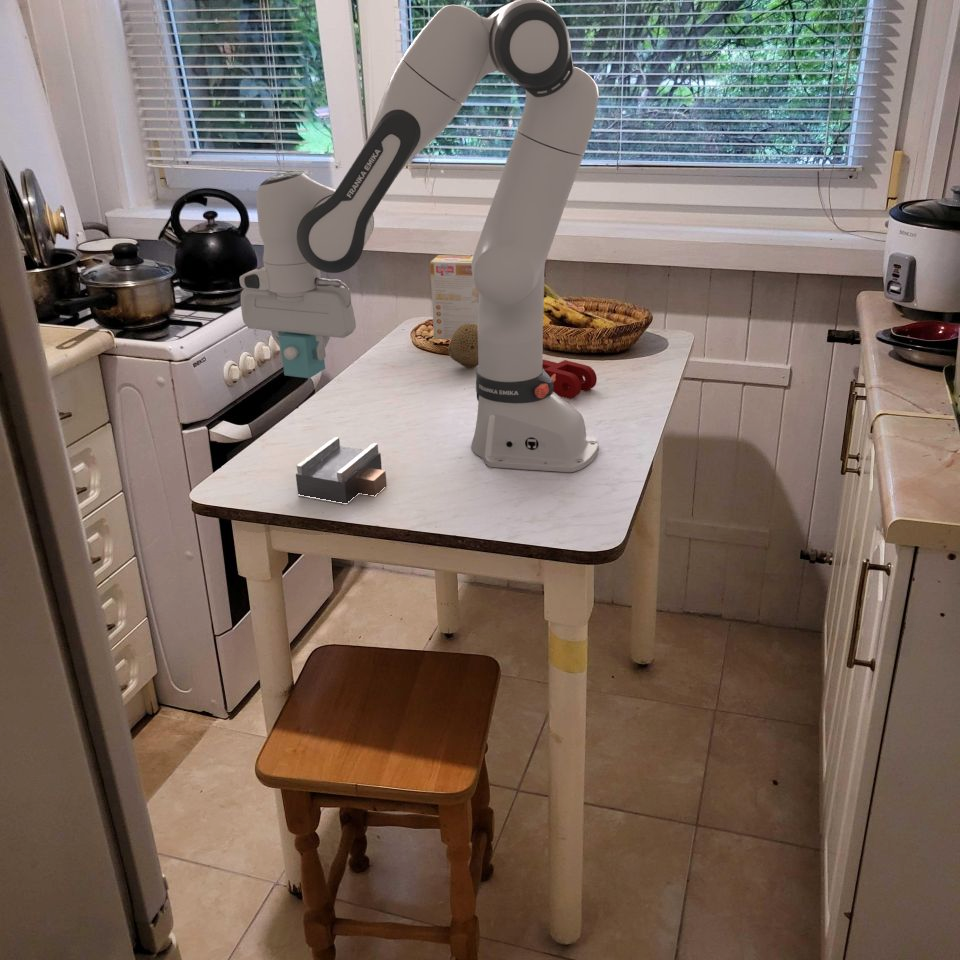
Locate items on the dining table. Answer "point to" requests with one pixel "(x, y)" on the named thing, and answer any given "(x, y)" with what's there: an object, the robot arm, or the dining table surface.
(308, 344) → the block
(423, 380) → the dining table surface
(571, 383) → the mechanical linkage
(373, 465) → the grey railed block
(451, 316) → the coffeecake box
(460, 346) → the natural sponge
